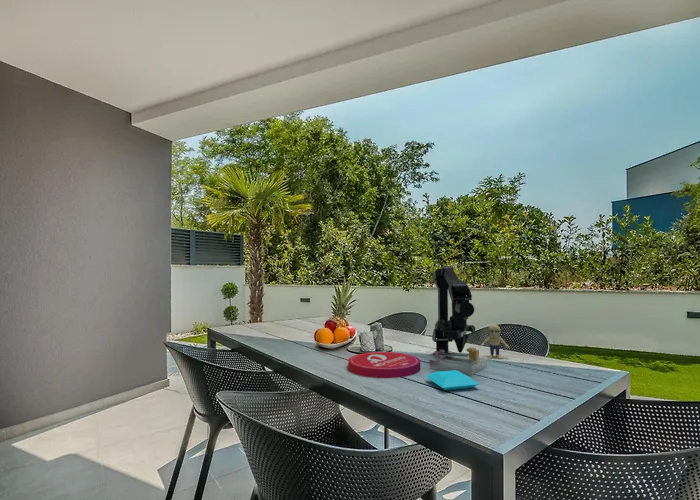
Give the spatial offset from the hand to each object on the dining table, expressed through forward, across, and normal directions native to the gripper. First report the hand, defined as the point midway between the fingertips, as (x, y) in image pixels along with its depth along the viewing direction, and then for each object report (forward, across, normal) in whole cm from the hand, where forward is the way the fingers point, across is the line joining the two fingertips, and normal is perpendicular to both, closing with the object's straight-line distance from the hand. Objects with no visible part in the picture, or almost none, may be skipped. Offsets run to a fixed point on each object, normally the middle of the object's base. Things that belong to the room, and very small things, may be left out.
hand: (460, 352), depth 165 cm
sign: (+8, +15, -27) cm, 32 cm away
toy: (+7, -29, +4) cm, 30 cm away
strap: (+2, 0, -3) cm, 4 cm away
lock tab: (+3, -7, +2) cm, 8 cm away
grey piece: (+7, -3, -2) cm, 8 cm away
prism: (+8, +21, +6) cm, 23 cm away
